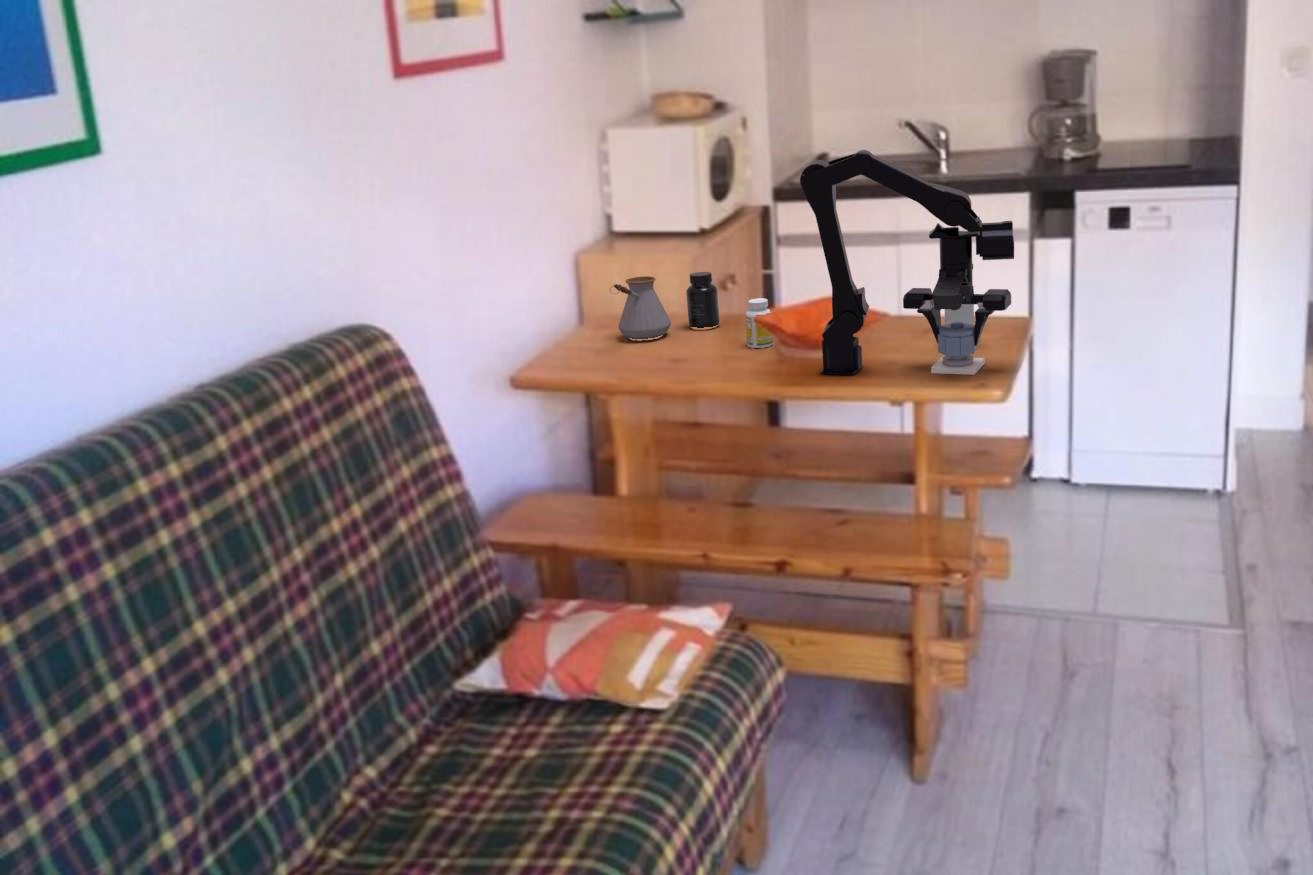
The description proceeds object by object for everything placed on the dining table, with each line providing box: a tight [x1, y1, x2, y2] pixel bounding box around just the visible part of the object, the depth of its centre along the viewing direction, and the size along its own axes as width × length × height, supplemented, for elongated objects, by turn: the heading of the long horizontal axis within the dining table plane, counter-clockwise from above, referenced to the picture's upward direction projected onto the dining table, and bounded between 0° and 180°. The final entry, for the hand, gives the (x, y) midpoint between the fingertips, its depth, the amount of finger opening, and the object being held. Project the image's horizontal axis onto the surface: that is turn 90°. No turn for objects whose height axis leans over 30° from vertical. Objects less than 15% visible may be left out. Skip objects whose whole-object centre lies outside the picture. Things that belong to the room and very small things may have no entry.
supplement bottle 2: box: [745, 298, 774, 349], centre depth 282 cm, size 5×5×10 cm
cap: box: [937, 322, 978, 356], centre depth 253 cm, size 7×7×5 cm
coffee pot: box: [609, 275, 672, 339], centre depth 293 cm, size 21×12×15 cm, turn 160°
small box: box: [944, 304, 975, 325], centre depth 269 cm, size 8×6×10 cm
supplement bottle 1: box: [686, 271, 721, 328], centre depth 302 cm, size 7×7×12 cm
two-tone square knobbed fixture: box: [930, 354, 986, 376], centre depth 254 cm, size 8×8×5 cm
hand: (957, 344), depth 254 cm, fingers closed on cap, 6 cm apart
